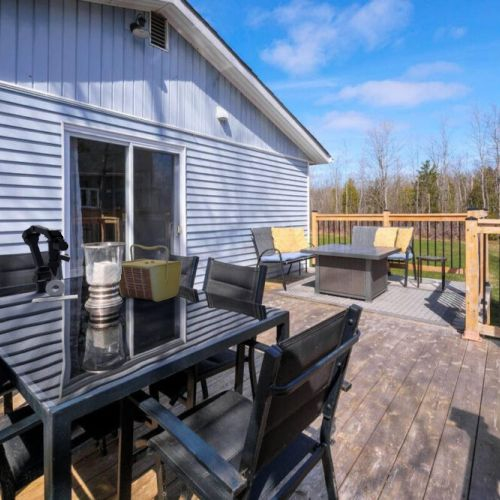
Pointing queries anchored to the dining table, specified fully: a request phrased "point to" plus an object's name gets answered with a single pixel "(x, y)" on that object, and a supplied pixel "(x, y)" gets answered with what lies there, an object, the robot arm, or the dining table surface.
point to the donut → (58, 292)
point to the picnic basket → (150, 277)
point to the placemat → (55, 298)
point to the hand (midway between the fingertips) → (55, 276)
